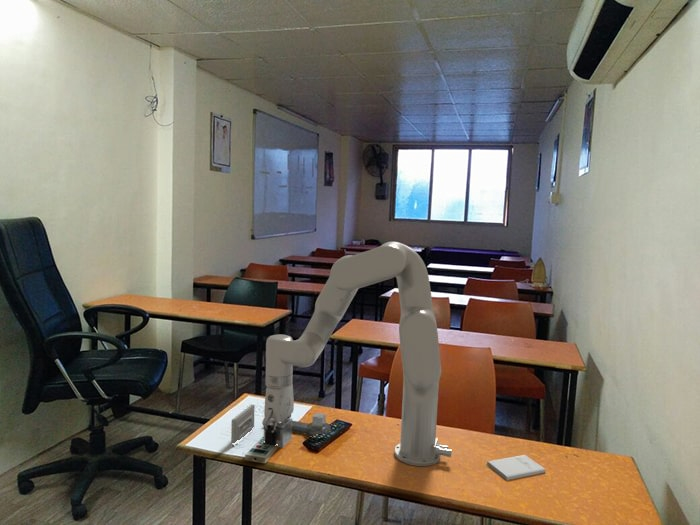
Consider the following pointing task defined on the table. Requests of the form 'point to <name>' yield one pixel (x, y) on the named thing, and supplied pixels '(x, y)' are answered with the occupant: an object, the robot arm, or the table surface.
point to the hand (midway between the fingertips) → (277, 437)
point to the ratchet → (312, 425)
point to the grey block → (283, 432)
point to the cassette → (242, 424)
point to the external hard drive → (516, 467)
